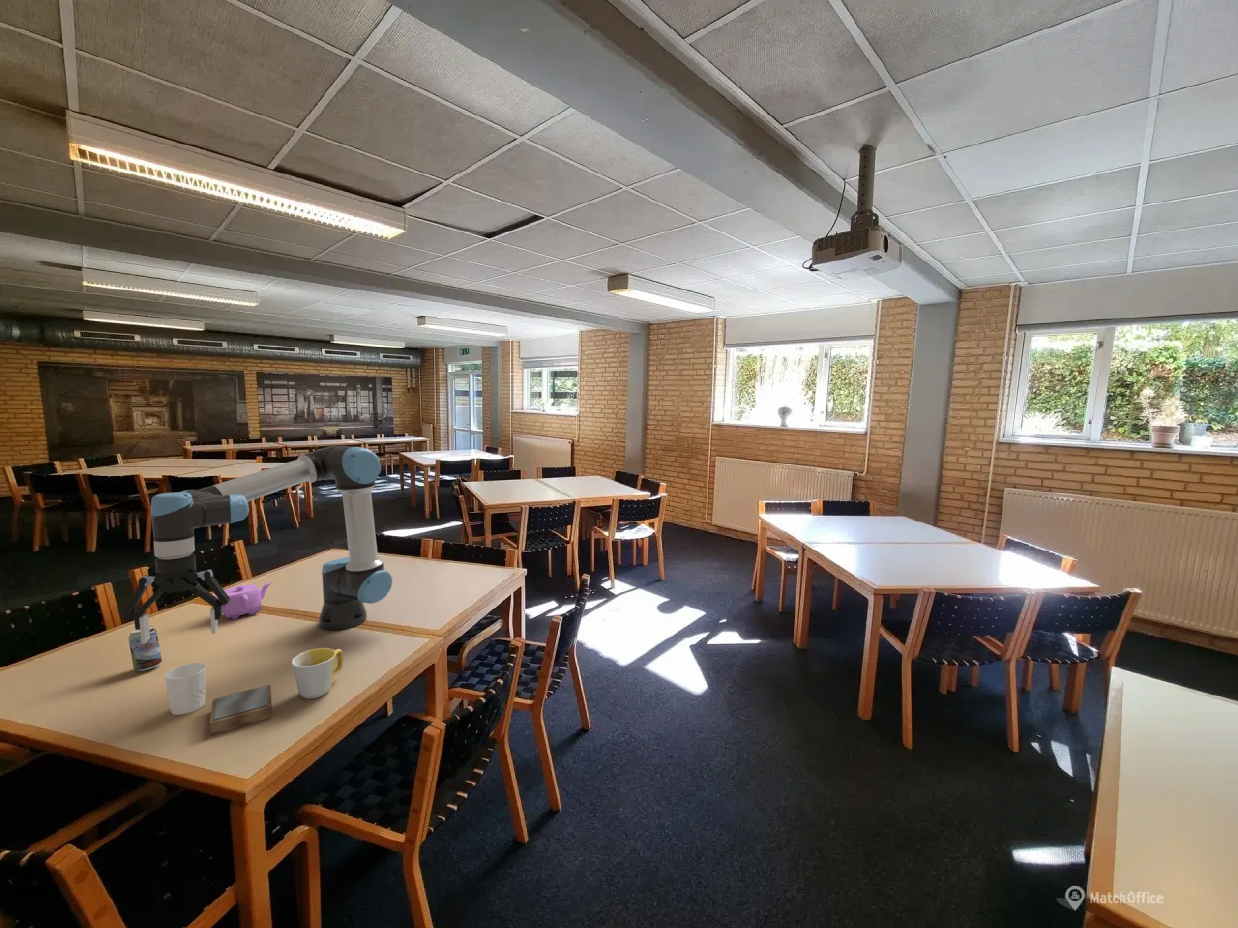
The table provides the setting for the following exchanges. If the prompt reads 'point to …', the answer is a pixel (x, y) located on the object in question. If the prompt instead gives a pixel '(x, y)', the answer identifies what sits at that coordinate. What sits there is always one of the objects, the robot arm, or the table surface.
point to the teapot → (243, 600)
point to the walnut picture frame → (240, 709)
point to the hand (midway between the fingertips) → (181, 636)
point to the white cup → (186, 688)
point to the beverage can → (145, 650)
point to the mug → (316, 671)
